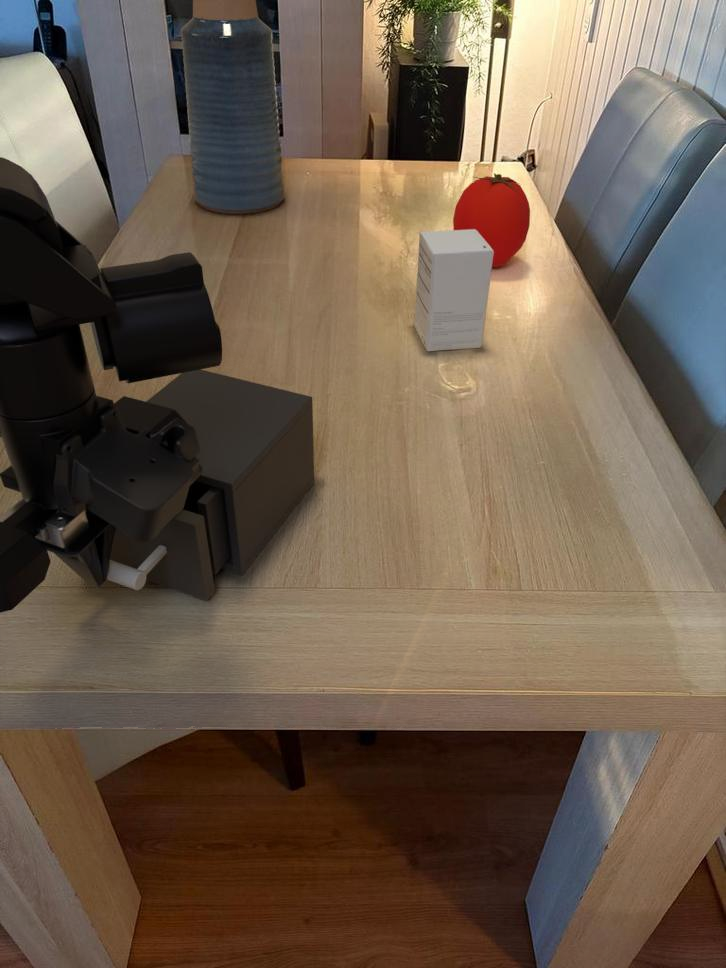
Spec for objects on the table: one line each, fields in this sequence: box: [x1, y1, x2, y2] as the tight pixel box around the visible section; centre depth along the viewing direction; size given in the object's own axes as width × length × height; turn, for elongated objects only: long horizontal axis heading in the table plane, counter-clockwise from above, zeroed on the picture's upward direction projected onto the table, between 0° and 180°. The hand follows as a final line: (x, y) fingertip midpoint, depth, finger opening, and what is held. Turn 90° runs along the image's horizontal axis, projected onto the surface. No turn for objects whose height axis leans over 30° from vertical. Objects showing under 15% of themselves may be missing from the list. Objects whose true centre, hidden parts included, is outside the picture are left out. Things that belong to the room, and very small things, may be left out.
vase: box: [180, 0, 286, 215], centre depth 126 cm, size 16×16×32 cm
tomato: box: [452, 172, 531, 268], centre depth 111 cm, size 12×12×13 cm
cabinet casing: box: [145, 369, 315, 577], centre depth 65 cm, size 14×13×10 cm
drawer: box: [106, 481, 232, 602], centre depth 60 cm, size 17×11×8 cm
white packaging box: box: [413, 229, 494, 352], centre depth 91 cm, size 7×7×13 cm
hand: (97, 582), depth 53 cm, fingers closed
